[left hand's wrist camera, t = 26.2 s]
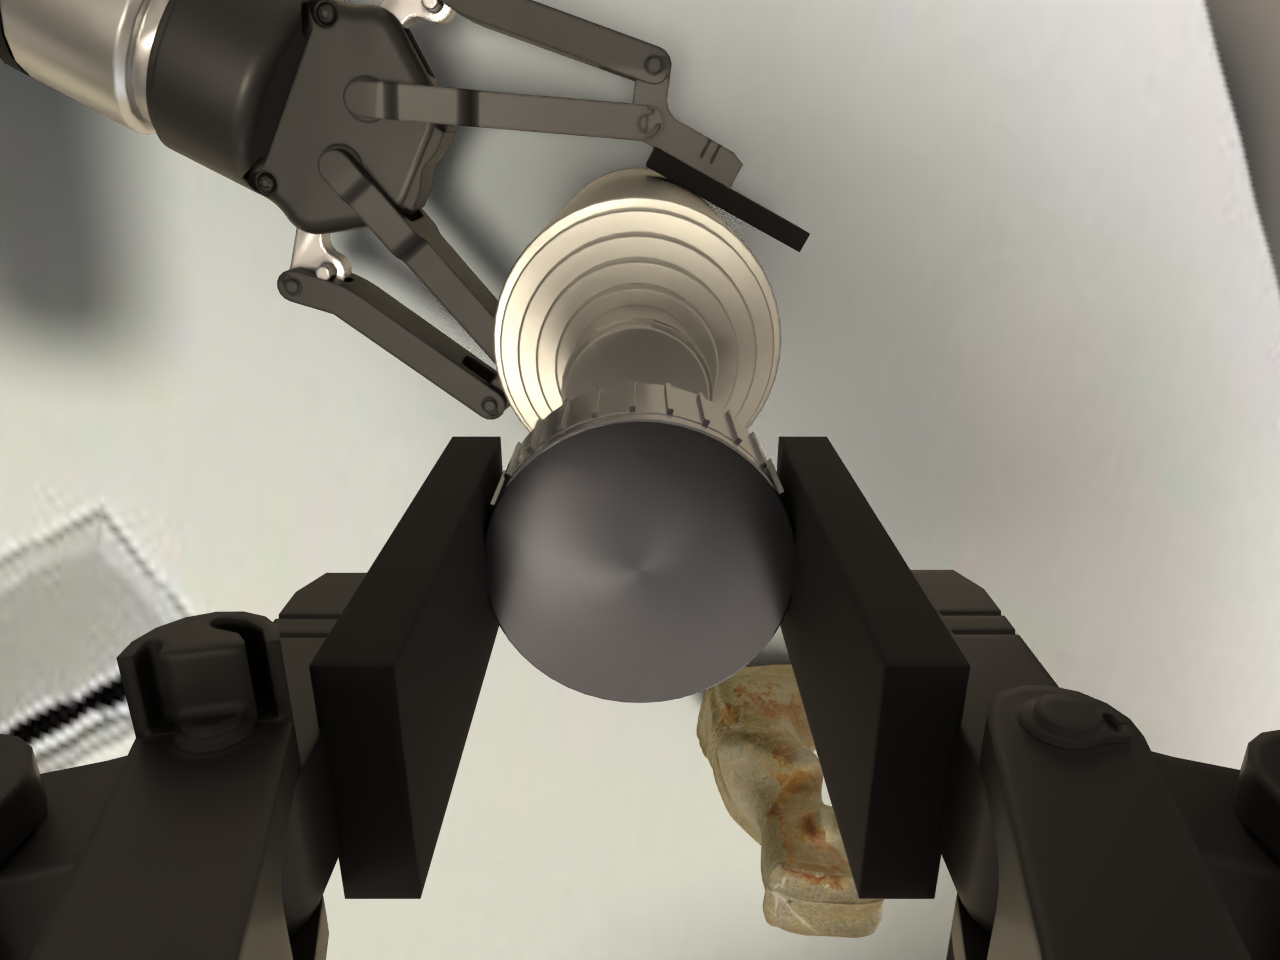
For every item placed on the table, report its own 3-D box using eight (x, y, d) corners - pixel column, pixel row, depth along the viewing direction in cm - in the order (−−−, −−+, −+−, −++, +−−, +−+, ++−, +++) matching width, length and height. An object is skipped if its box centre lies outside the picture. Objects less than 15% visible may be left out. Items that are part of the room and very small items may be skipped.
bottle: (686, 365, 43) (733, 600, 21) (530, 309, 42) (417, 496, 20) (749, 205, 40) (875, 291, 19) (584, 141, 39) (519, 154, 18)
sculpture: (809, 741, 50) (874, 975, 36) (685, 718, 50) (703, 948, 36) (838, 654, 48) (920, 868, 34) (710, 630, 48) (739, 837, 34)
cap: (819, 417, 14) (846, 460, 12) (736, 664, 15) (748, 733, 14) (529, 346, 13) (512, 379, 12) (474, 607, 15) (452, 672, 13)
